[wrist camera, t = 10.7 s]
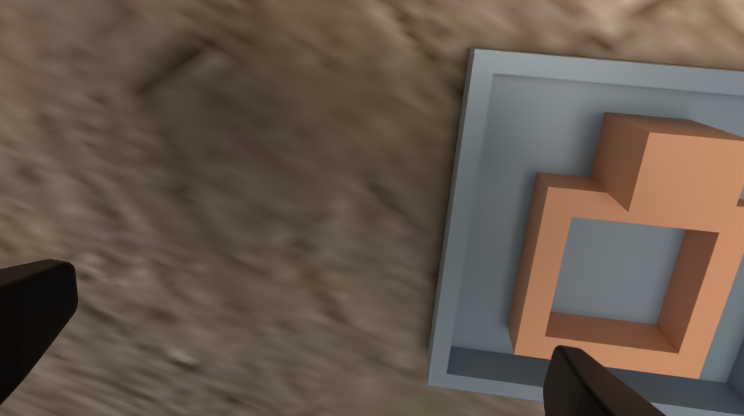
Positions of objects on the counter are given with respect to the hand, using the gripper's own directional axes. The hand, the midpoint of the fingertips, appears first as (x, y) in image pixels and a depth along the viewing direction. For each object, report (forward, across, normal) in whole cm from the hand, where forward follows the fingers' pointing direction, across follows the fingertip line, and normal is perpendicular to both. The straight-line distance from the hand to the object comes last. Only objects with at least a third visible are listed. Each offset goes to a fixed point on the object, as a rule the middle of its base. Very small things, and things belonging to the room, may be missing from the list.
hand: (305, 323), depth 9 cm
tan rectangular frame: (+12, -10, +1) cm, 15 cm away
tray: (+12, -10, +2) cm, 16 cm away
